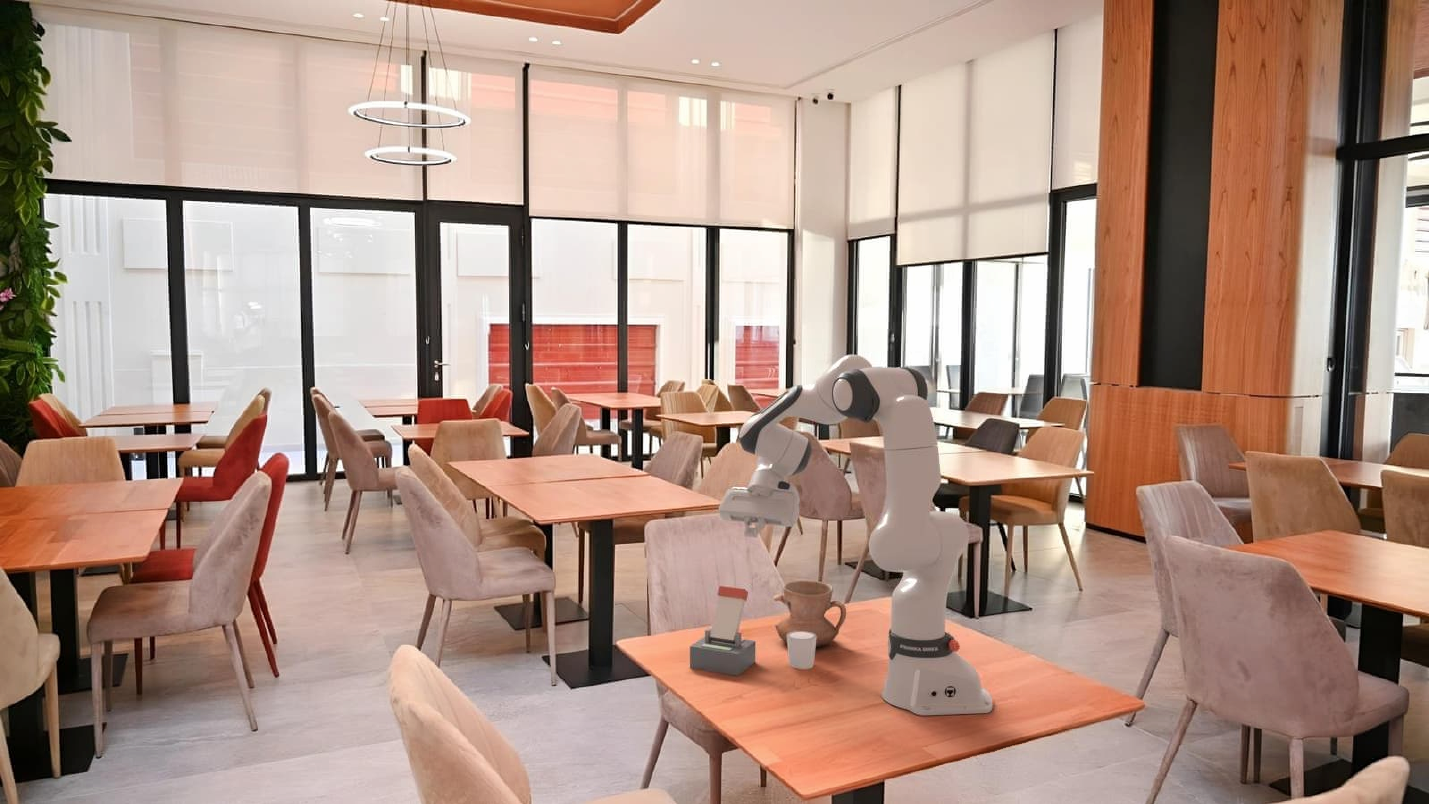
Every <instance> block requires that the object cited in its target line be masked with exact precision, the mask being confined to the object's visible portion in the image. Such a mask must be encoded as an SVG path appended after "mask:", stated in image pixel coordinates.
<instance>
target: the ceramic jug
mask: <svg viewBox="0 0 1429 804" xmlns="http://www.w3.org/2000/svg"><path fill="white" fill-rule="evenodd" d="M782 593H783V594H776V595H774V596H773V600H774V601H775V602H777V601H778V602H781V603H782V604H784V605H785V606H786V607H787V609H788V611H789V615H788V616H786V617H784V618H783V619H781V621H780V622H777V624H775V625H774V626H775V630H776V631H777V635H778V637H779V638H780V639H781V640H782V641H783V642H785V643H787V634H788V633H790V632H794V631H806V632H811V633H814V634H816V636H817V638H816V647H822V646H825V645H828V644H830V643H831V642H833V641H834V640H835V639H836V637H837V636H838V635H839V632H840V631H839V630H840V629H841V627H842V625H843V624H844V623H845V621H846V616H847V609H846V606H845V604H844V603H843V602H841V601H839V600H833V601H831V600H832V596H833V593H834V592H833V587H832V585H830V584H828V583H826V582H821V581H818V580H817V581H816V580H809V579H808V580H806V579H805V580H793V581H788V582H785V583H784V585H783V586H782ZM833 607H834V608H835V607H837V608H839V609H840V617H839V618H838V619H839V620H838V622H837V624H836V626H835V625H834V623H832V622H831V621H830V620H829V619H828V618H826V616H825V614H826V612H827V611H829V610H830V609H831V608H833ZM816 647H815V648H816Z"/></svg>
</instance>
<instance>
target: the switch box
mask: <svg viewBox="0 0 1429 804" xmlns="http://www.w3.org/2000/svg"><path fill="white" fill-rule="evenodd" d="M711 630H712V627H710V628H709V627H708V628H706V629H705V630H704V636H703V637H702V638H700V639H699V640H698V641H696V642H695V643H692V644H691V645H690V646H689V668H690V669H694V670H695V669H696V670H700V669H702V671H706V672H707V671H708V672H714V673H719V674H725V675H730V676H734V677H735V676H736V677H738V676H740V675H741V674H743V673H744V672H745V671H746V670H747V669H749V668H750V667H751V666H752V665H754V664H755V663H756V640H751V639H746V638H745V639H744V638H742V632H738V633H737V634H736V635H735V644H729V643H723V642H716V641H711V640H710V635H711ZM754 662H755V663H754ZM753 663H754V664H753ZM745 669H746V670H745ZM744 670H745V671H744Z"/></svg>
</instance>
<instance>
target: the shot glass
mask: <svg viewBox="0 0 1429 804" xmlns="http://www.w3.org/2000/svg"><path fill="white" fill-rule="evenodd" d="M816 638H817V636H816V634H814V633H811V632H806V631H794V632H790V633H788V634H787V642H786V643H787V655H788V665H789V667H791V668H792V669H796V668H797V670H808V669H811V668H813V667H814V665H815V656H816Z"/></svg>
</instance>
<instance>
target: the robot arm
mask: <svg viewBox="0 0 1429 804" xmlns="http://www.w3.org/2000/svg"><path fill="white" fill-rule="evenodd" d="M928 390H929V389H928V383H927V381H926V379H925V376H924V375H923V374H922V373H921V372H920V371H918V370H917V369H914V368H909V367H905V366H899V367H898V366H897V367H886V366H885V367H883V366H872V364H871V362H869V360H868V359H866V358H865V357H863V356H861V355H858V354H846V355H844V356H843V357H841V358H840V359H838V360H837V361H835V362H834V363H833V364H832V365H830V366H829V367H828V368H827V369H826V370H825V371H824V372H823V373H822V374H821V376H820V377H819V378H817V379H816V380H814V381H812V382H809V383H806V384H799V385H798V384H797V385H793V386H791V387H790V388H788V389H787V390H786V391H784V392H783V393H781V395H779V396H778V397H777V398H775V399H774V400H773V401H771V402H770V403H769V404H767V405H766V406H765V407H764V408H762V409H761V410H760V411H759V412H756V413H754V414H752V415H750V416H749V417H748V418H747V419H746V420H745V422H744V423H743V424H742V426H741V428H740V430H739V433H738V441H739V443H740V446H741V448H742V449H743V451H745V452H746V453H749V454H751V455H756V456H757V457H758V458H757V462H756V467H755V470H754V471H753V473H752V475H751V478H750V481H749V483H748V487H737V486H735V487H732V488H729V489H727V490H726V491H725V494H724V497H723V498H722V500H721V502H720V504H719V506H718V514H719V515H720V517H721V519H722V520H723V521H729V522H738V523H739V522H740V523H744V527H745V529H744V531H743V532H744V533H743V534H744V537H749V538H758V535H759V533H761V531H763V530H764V529H765V528H766V525H770V526H778V527H779V526H781V527H789V528H791V527H794V526H795V525H797V524H798V520H799V516H800V506H799V504H800V502H801V498H800V495H799V492H798V490H797V488H796V485H794V484H793V483H791V482H788V481H787V479H788V477H792V476H795V475H797V474H800V473H801V472H804V470H806V467H807V466H808V463H809V461H810V458H811V455H812V451H813V449H812V444H811V442H810V440H809V438H807V437H806V436H804V435H802V434H801V433H799V432H797V431H795V430H793V429H790V428H788V427H787V426H785V425H783V424H781V423H780V422H782V421H783V420H784V419H786V418H790V417H791V418H799V419H805V420H807V421H808V420H809V421H812V422H815V423H819V424H823V425H835V424H840V423H841V422H843V421H845V420H847V419H852V420H853V419H854V420H857V421H861V422H862V423H865V424H866V423H870V421H872V420H875V421H876V422H877V423H878V424H879V425H880V427H881V430H882V436H883V450H884V451H883V453H884V465H885V477H886V490H885V498H884V504H883V508H882V511H881V516H880V517H879V521H878V522H877V525H876V526H875V528H874V529H873V530H872V531H871V533H870V536H869V539H868V552H869V555H870V557H871V559H872V561H873V562H874V564H875V565H876V566H878V567H879V569H881V570H883V571H885V572H893V573H903V576H902V577H901V580H900V582H899V583H898V584H897V585H896V586H895V588H894V590H893V591H892V596H891V614H890V615H891V618H890V620H891V621H890V629H889V631H888V637H887V654H888V658H889V660H888V668H887V673H886V677H885V678H886V679H885V682H884V686H883V689H882V693H881V697H882V699H883V700H885V702H887V703H888V704H891V706H892V705H893V706H895V707H898V708H901V709H905V710H908V711H909V712H911V713H914V714H916V715H918V716H937V715H938V716H940V715H941V716H944V715H962V714H963V715H966V714H968V715H969V714H972V715H973V714H988V713H990V712H991V711H992V710H993V708H994V704H993V703H994V702H993V698H992V696H991V695H990V692H988V690H986V688H984V687H982V682H981V678H980V674H979V673H978V671H977V669H976V668H975V666H973V665H972V664H971V663H970V662H969V661H967V660H966V659H965V658H964V657H962V656H961V655H960V654H958V653H957V652H958V651H959V650H960V648H961V646H960V644H959V641H957V640H956V639H955V637H954V636H953V635H952V634H951V633H950V632H949V631H948V632H947V631H946V613H947V609H946V608H947V598H948V593H949V589H950V584H951V581H952V579H953V578H952V577H953V575H954V572H955V568H956V567H957V564H958V562H959V560H960V558H961V556H962V555H963V553H964V552H965V551H966V549H967V548H968V546H969V541H970V533H969V529H968V526H967V524H966V522H965V521H964V519H963V518H962V517H961V516H959V515H958V514H957V513H953V512H948V511H939V510H932V511H931V506H932V502H933V500H934V499H933V498H934V497H935V494H936V493H937V491H938V489H939V488H940V486H941V484H942V483H941V482H942V476H941V464H940V455H939V446H938V436H937V430H936V427H935V421H934V418H933V414H932V410H931V408H930V404H929V403H928V402H927V399H928V393H929V391H928ZM752 524H756V526H754V527H751V526H752Z"/></svg>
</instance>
